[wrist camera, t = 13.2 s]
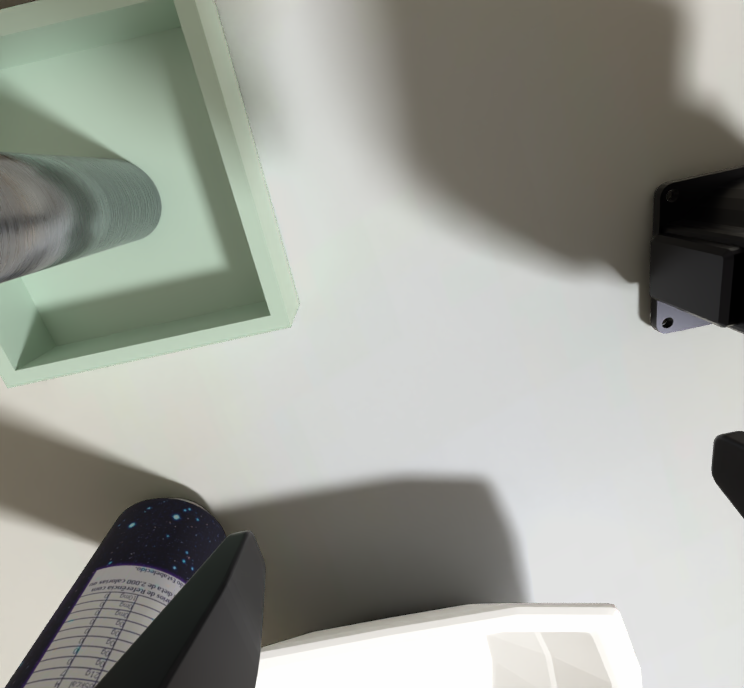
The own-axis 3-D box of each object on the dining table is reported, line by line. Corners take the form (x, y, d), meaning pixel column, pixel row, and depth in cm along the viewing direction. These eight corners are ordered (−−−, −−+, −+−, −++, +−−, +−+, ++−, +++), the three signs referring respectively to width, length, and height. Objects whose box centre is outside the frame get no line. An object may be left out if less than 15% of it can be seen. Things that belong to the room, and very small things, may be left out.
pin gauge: (143, 150, 16) (-133, 119, 7) (173, 232, 17) (-32, 299, 8) (65, 168, 16) (-309, 162, 7) (100, 248, 18) (-185, 334, 8)
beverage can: (100, 501, 23) (-142, 824, 11) (206, 473, 22) (62, 777, 11) (150, 580, 25) (-15, 919, 13) (247, 555, 24) (161, 882, 13)
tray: (215, 3, 15) (184, -36, 12) (299, 303, 19) (291, 327, 16) (-87, 76, 16) (-185, 54, 13) (57, 356, 20) (7, 388, 17)
